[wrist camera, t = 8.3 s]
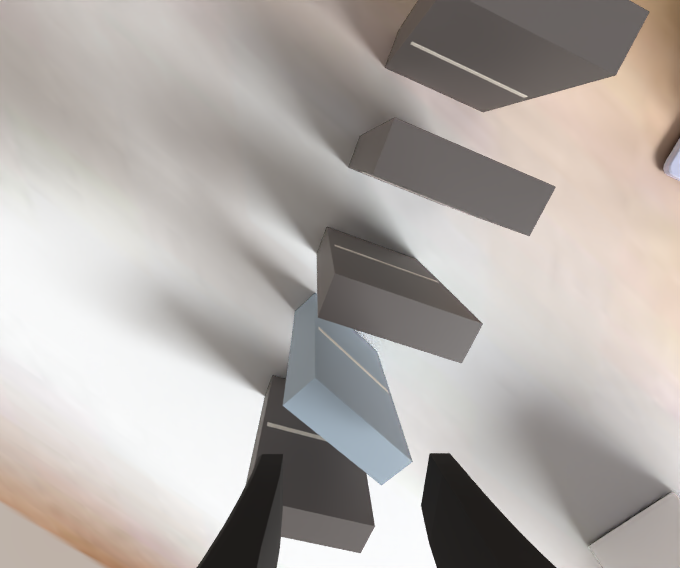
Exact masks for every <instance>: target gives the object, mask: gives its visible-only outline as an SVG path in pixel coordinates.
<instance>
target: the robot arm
mask: <svg viewBox="0 0 680 568" xmlns="http://www.w3.org/2000/svg"><path fill="white" fill-rule="evenodd" d="M663 170H664V173H665V174H666V175H668V176H670V177H672V178H674V179H676V180H678V181H680V138H679V140H678V142H677V143H676V145H675V147H674V148H673V150H672V151H671V153H670V155H669V156H668V158H667V160H666V161H665V164H664V168H663ZM421 507H422V512H423V517H424V522H425V527H426V531H427V535H428V540H429V544H430V547H431V550H432V554H433V557H434V560H435V563H436V566H437V568H556V567H555V566H554V565H553V564H552V563H551V562H550V561H549V560H548V559H547V558H545V557H544V556H543V555H542V554H541V553H540V552H539V551H538V550H537V549H536V548H535V547H534V546H533V545H532V544H531V543H530V542H529V541H528V540H527V539H526V538H525V537H524V536H523V535H522V534H521V533H520V532H519V531H518V530H517V529H516V528H515V526H514V525H513V524H512V523H511V522H510V521H509V520H508V519H507V518H506V517H505V516H504V515H503V514H502V512H501V511H500V510H499V509H498V508H497V507H496V506H495V505H494V504H493V503H492V502H491V500H490V499H489V498H488V497H487V496H486V495H485V494H484V493H483V491H482V490H481V489H480V488H479V487H478V486H477V485H476V483H475V482H474V481H473V480H472V479H471V478H470V476H469V475H468V474H467V473H466V472H465V471H464V469H463V468H462V467H461V466H460V465H459V464H458V462H457V461H456V460H455V459H454V458H453V457H452V456H451V454H450V453H430V455H429V461H428V467H427V473H426V479H425V485H424V491H423V497H422V503H421ZM282 513H283V454H262V455H260V456H259V457H258V459H257V462H256V464H255V467H254V469H253V471H252V474H251V476H250V478H249V480H248V482H247V484H246V486H245V488H244V490H243V492H242V494H241V496H240V498H239V500H238V501H237V503H236V505H235V507H234V509H233V510H232V512H231V514H230V516H229V517H228V519H227V521H226V523H225V524H224V526H223V528H222V529H221V531H220V532H219V534H218V536H217V537H216V539H215V540H214V542H213V544H212V545H211V547H210V548H209V550H208V551H207V553H206V555H205V556H204V558H203V559H202V561H201V562H200V564H199V565H198V567H197V568H277V562H278V555H279V549H280V539H281V526H282Z"/></svg>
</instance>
